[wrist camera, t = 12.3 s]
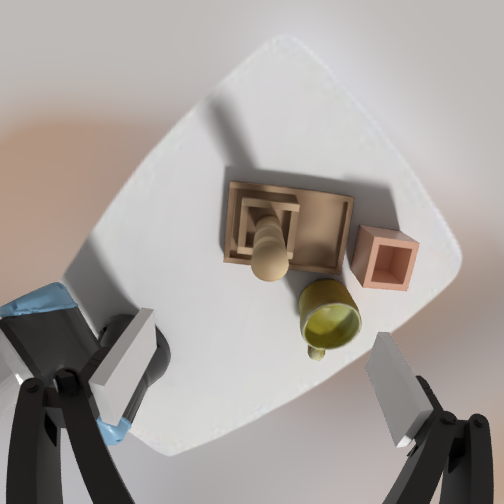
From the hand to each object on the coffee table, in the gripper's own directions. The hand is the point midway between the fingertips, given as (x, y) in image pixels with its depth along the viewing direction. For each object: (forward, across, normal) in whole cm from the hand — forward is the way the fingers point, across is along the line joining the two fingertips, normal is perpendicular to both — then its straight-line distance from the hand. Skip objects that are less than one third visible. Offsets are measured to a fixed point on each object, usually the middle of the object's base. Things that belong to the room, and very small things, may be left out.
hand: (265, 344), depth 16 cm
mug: (+30, +11, -13) cm, 35 cm away
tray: (+30, +3, 0) cm, 30 cm away
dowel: (+29, 0, 0) cm, 29 cm away
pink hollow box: (+30, +18, -2) cm, 35 cm away
